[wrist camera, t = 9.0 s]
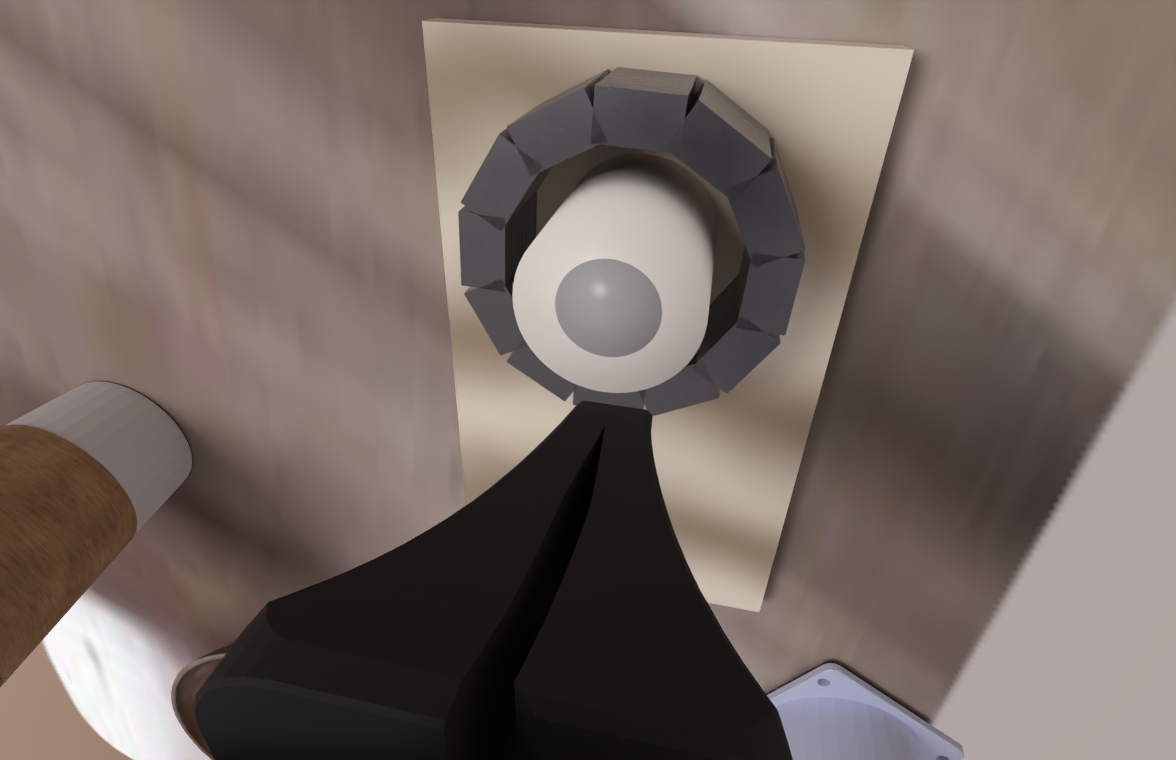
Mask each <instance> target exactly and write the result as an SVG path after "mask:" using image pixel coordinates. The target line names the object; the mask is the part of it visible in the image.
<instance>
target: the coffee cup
mask: <svg viewBox="0 0 1176 760" xmlns="http://www.w3.org/2000/svg"><path fill="white" fill-rule="evenodd" d="M191 467H192V453H191V450H190V447H189V444H188V442H187V440H186V438H185V436H184V434H183V433H182V431H181V430H180V429H179V427H178V426H177V424H176V423H175V422H174V421H173V420H172V419H171V418H170V417H169V415H168V414H167V413H166V412H164V411H163V410H162V409H161V408H160V407H159V406H157V405H156V404H155V403H154V402H152V401H151V400H149V399H148V398H146V397H145V396H143V395H141V394H140V393H138V392H136V391H134V390H132V389H130V388H127V387H124V386H122V385H119V384H115V383H110V382H99V381H95V382H89V383H84V384H82V385H80V386H78V387H76V388H74V389H72V390H70V391H69V392H67V393H65V394H63V395H61V396H59V397H57V398H55V399H54V400H52V401H50V402H48V403H46V404H44V405H42V406H40V407H39V408H37V409H35V410H33V411H31V412H29V413H27V414H25V415H24V416H22V417H20V418H18V419H16V420H14V421H12V422H11V423H9V424H7V425H5V426H0V687H1V686H2V685H3V683H5V681H6V680H7V679H8V678H9V677H10V676H11V675H12V674H13V672H14V671H15V670H16V669H17V668H18V667H19V666H20V665H21V663H22V662H23V661H24V660H25V659H26V658H27V657H28V656H29V654H30V653H31V652H32V651H33V650H34V649H35V648H36V646H37V645H38V644H39V643H40V642H41V641H42V640H43V639H44V638H45V636H46V635H47V634H48V633H49V632H50V631H51V630H52V628H53V627H54V626H55V625H56V624H57V623H58V622H59V621H60V619H61V618H62V617H63V616H64V615H65V614H66V613H67V612H68V610H69V609H70V608H71V607H72V606H73V605H74V604H75V603H76V601H77V600H78V599H79V598H80V597H81V596H82V595H83V594H84V592H85V591H86V590H87V589H88V588H89V587H90V586H91V585H92V583H93V582H94V581H95V580H96V579H97V578H98V577H99V576H100V574H101V573H102V572H103V571H104V570H105V569H106V568H107V566H108V565H109V564H110V563H111V562H112V561H113V560H114V559H115V557H116V556H117V555H118V554H119V553H120V552H121V551H122V550H123V548H124V547H125V546H126V545H127V544H128V543H129V542H130V541H131V539H132V538H133V536H134V535H135V533H136V532H137V531H138V530H139V529H140V528H141V527H142V526H143V525H144V524H145V523H146V522H147V521H148V520H149V518H150V517H151V516H152V515H153V514H154V513H155V512H156V511H157V510H158V509H159V508H160V507H161V506H162V505H163V503H164V502H165V501H166V500H167V499H168V498H169V497H170V496H171V495H172V494H173V493H174V492H175V491H176V490H177V488H178V487H179V486H180V485H181V484H182V483H183V482H184V481H185V479H186V478H187V477H188V475H189V473H190V471H191Z"/></svg>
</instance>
